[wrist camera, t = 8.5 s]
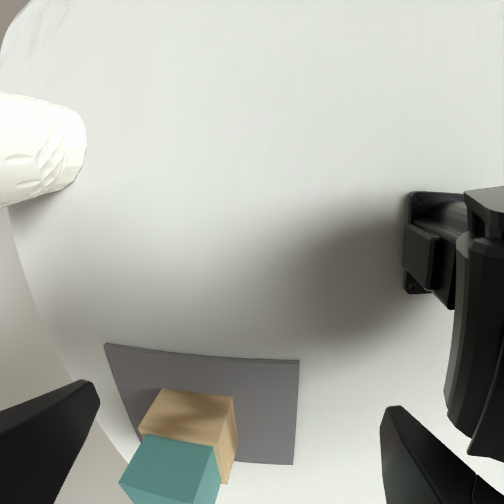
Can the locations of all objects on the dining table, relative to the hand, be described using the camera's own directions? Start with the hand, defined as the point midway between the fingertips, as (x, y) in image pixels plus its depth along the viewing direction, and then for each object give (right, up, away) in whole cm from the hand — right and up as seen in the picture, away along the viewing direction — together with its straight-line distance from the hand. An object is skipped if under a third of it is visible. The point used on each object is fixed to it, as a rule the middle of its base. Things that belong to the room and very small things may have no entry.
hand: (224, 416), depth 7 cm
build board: (-3, -9, +16) cm, 19 cm away
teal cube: (-4, -11, +10) cm, 16 cm away
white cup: (-14, +13, +12) cm, 23 cm away
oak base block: (-4, -10, +15) cm, 18 cm away
